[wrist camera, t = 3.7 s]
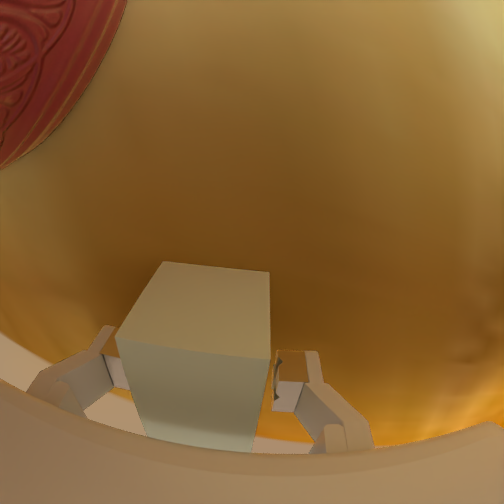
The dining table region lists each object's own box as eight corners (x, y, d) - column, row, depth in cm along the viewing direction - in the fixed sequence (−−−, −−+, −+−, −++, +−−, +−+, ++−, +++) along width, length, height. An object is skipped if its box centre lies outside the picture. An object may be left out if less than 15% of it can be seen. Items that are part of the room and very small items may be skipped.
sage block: (269, 271, 11) (270, 359, 7) (255, 371, 13) (250, 453, 9) (163, 259, 11) (114, 336, 7) (172, 360, 13) (147, 437, 9)
